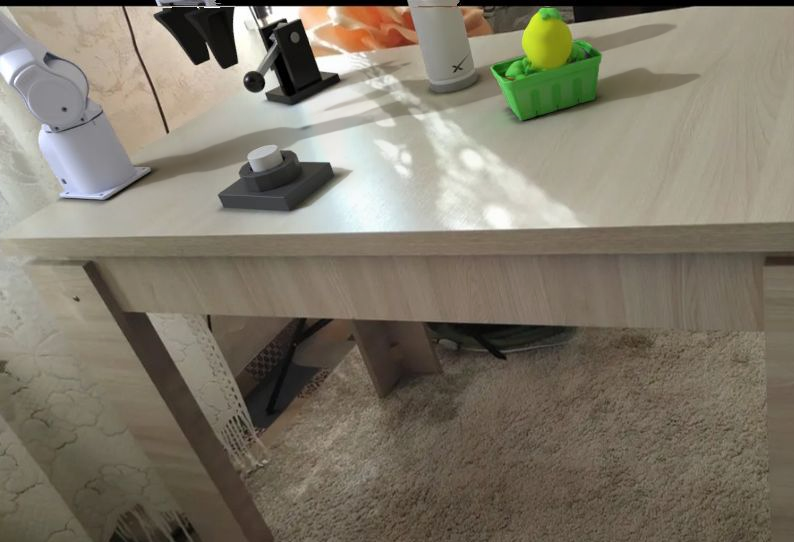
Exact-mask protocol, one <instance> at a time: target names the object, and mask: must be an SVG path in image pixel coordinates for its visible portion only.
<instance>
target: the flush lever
mask: <svg viewBox="0 0 794 542" xmlns="http://www.w3.org/2000/svg"><path fill="white" fill-rule="evenodd" d="M284 24H287V23H279V24H278V26H277V27H280V26H282V25H284ZM277 27H276V28H277ZM269 39H270V40H271V41H272V42H273V43H274V44H273V45H272V47H271V48H270V50H269V51H268V53H267V52H266V54H265V56H264V57H263V59H262V60H261V61H260V63H259V65H258V66H257V68H255V70H250V71H248V72H246V73H245V74H244V76H243V79H242V82H243V87H244V88H245V89H246V90H247V91H248V92H249V93H253V94H259V93H261V92H262V91H263V90H264V89H265V87H266V78H265V76H266V74H267V73H268V71H269V70H270V68H271V67H272V64H273V62H274V61H275V59H276V57H277V56H278V54H279V53H280V49H279V46H278V44H277V41H276V38H275V36H274V33H272V35H271V36H270V38H269Z"/></svg>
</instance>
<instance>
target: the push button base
mask: <svg viewBox="0 0 794 542" xmlns="http://www.w3.org/2000/svg"><path fill="white" fill-rule="evenodd" d="M279 151H280V153H281V156H282V158H283V162H282V163H281V164H279V165H278V166H276V167H274V168H271V169H269V170H265V171H261V172H254V171H253V169H252V167H251V165H250V162H249V161H248V162H246V163H244V164H243V165H241V167H240V169H239V171H238V175H239V178H238V179H237V180H236V181H233V183H232V184H229V186H227V187H226V188H224V189H223V190H222V191H220V192H219V193H218V194H217V197H218V199H219V201H220V203H221V205H222V207H223V208H224V209H239V210H253V211H254V210H256V211H273V212H291V211H293V210H294V209H296V207H298V206H299V205H300V204H302V203H303V202H304V201H305V200H307V199H308V198H309V197H310V196H311V195H313V194H314V193H315V192H316V191H318V190H319V189H321V187H323V186H324V185H325V184H327V183H328V182H329V181H330V180H332V179H333V178H334V177H335V173H334V170H333V167H332V165H331V162H329V161H300V160H299V157H298V155H297V153H295V152H294V151H292V150H289V149H287V150H286V149H285V150H283V149H279Z"/></svg>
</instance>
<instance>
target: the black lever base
mask: <svg viewBox="0 0 794 542" xmlns="http://www.w3.org/2000/svg"><path fill="white" fill-rule="evenodd" d="M279 23H287V24H284V25H282V26H280V27H277V26H278V24H279ZM276 27H277V28H276ZM257 30H258V33H259V36H260V38H261V40H262V43H263V46H264V48H265V50H266V54H267V53H268V51H269V50H270V48H271V47H272V45H273V44H274V43H273V42H272V41H271V40H270V39H269V38H270V36H271V35H272V33H274V36H275V38H276V41H277V44H278V46H279V49H280V53H279V54H278V56H277V57H276V59H275V61H274V62H273V64H272V65H271V67H272V68H273V72H274V74H275V76H276V79H277V82H278V84H279V85H278V86H277V87H274V88H272V89H270V90H268V91H266V92H264V95H265V97H266V100H267V101H268V102H269V101H270V102H275V103H281V104H285V105H291V106H293V105H295V104H296V103H299V102H301V101H303V100H305V99H307V98H309V97H311V96H313V95H315V94H317V93H319V92H321V91H324V90H325V89H328V88H330V87H331V86H333V85H335V84H337V83H340V82H342V81H341V78H340V75H339V73H338V72H330V71H322V70H320V69H319V66H318V63H317V59H316V57H315V54H314V52H313V48H312V46H311V43H310V40H309V38H308V34H307V32H306V29H305V26H304V23H303V20H302V18H296V19H294V20H292V21H289V22H288V20H287V18H286V17H282V18H280V19H277V20H276V21H273V22H270V23H268V24H266V25H264V26H260V27H259V28H257Z"/></svg>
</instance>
